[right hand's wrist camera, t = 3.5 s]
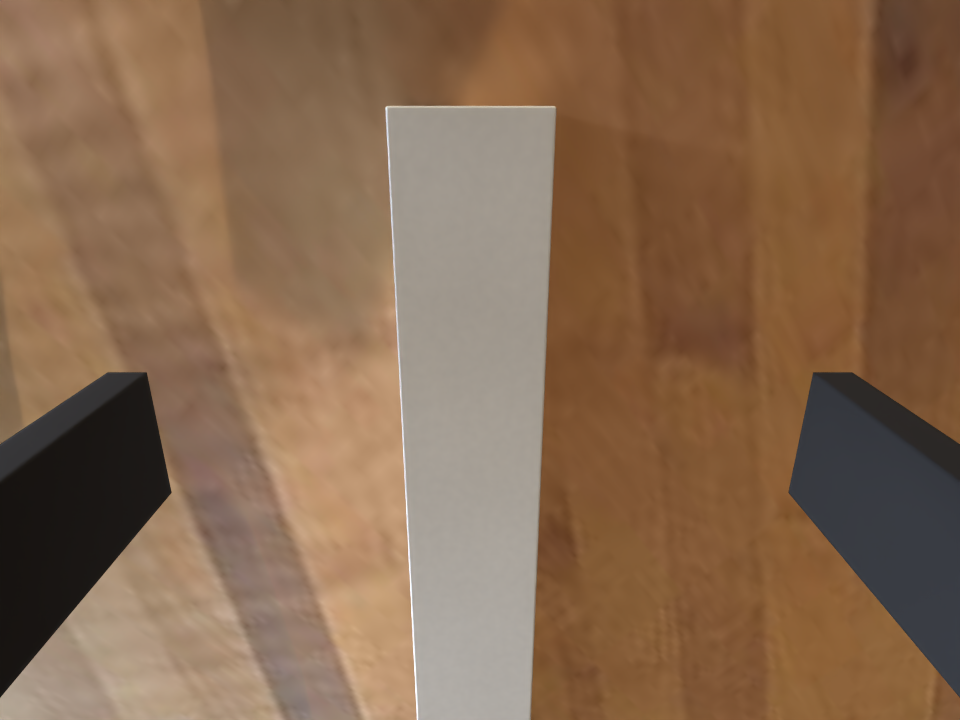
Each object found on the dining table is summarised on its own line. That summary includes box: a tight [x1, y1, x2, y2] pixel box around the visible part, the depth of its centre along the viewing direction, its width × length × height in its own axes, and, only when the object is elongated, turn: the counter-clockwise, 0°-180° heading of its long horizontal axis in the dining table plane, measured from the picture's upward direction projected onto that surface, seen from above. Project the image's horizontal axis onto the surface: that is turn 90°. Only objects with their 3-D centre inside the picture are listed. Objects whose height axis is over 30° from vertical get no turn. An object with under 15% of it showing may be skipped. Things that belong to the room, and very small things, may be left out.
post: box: [386, 106, 556, 720], centre depth 33 cm, size 61×5×7 cm, turn 0°
